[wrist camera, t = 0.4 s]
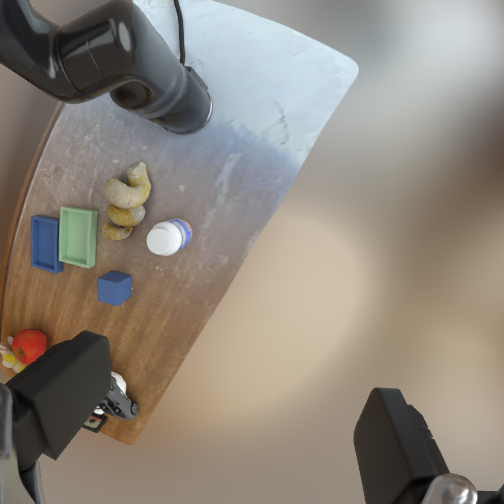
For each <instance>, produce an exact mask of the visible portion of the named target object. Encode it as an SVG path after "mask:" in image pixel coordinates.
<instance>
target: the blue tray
mask: <svg viewBox="0 0 504 504" xmlns="http://www.w3.org/2000/svg"><path fill="white" fill-rule="evenodd" d="M59 227H60V219H57V218H52V217H47V216H41V215H36V216H32V217H31V266H34V267H37V268H40V269H43V270H46V271H50V272H53V273H59V272H61V271H63V262H62V261H59Z"/></svg>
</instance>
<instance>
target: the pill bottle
mask: <svg viewBox="0 0 504 504" xmlns="http://www.w3.org/2000/svg"><path fill="white" fill-rule="evenodd" d="M191 238H192V229H191V226H190V225H189V223H188V222H186V221H185V220H183V219H180V218H174V219H170V220H167V221H163V222H160V223H158V224H156V225H155V226H154V227H153V228H152V230H151V231H150V232H149V234H148V236H147V245H148V248H149V249H150V250H151V251H152V252H153V253H155V254H159V255H164V256H168V255H171V254H173V253H175V252H177V251H178V250H180V249H182V248H183V247H185V246H186V245H188V243H189V242H190V240H191Z"/></svg>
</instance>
